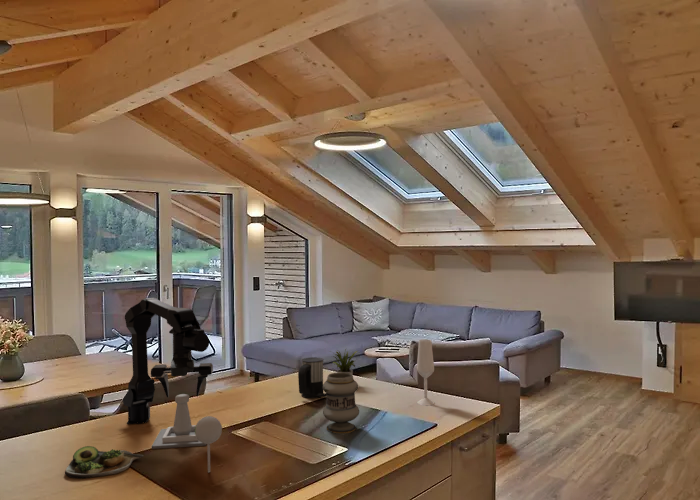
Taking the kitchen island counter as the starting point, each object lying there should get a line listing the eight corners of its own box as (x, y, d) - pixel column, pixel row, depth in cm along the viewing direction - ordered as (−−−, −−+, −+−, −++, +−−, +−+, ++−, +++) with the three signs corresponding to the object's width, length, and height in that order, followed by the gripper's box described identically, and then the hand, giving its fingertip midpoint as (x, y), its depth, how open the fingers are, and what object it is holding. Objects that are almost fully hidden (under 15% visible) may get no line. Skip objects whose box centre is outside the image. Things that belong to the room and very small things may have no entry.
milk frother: (304, 392, 233) (304, 356, 233) (341, 393, 231) (341, 357, 231) (296, 401, 219) (295, 363, 219) (335, 402, 217) (335, 364, 217)
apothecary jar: (315, 429, 186) (314, 375, 186) (340, 420, 195) (340, 368, 195) (341, 437, 178) (341, 380, 178) (366, 428, 187) (366, 374, 186)
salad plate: (147, 451, 168) (146, 436, 168) (138, 475, 151) (138, 458, 151) (77, 457, 164) (76, 442, 164) (60, 482, 147) (59, 465, 147)
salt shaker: (186, 439, 175) (185, 397, 175) (169, 438, 177) (168, 396, 176) (195, 433, 181) (194, 393, 181) (179, 432, 182) (178, 392, 182)
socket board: (151, 448, 170) (151, 441, 170) (161, 431, 185) (161, 424, 185) (205, 445, 172) (205, 437, 172) (210, 428, 188) (210, 421, 188)
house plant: (322, 388, 238) (322, 350, 238) (329, 380, 252) (328, 344, 252) (355, 389, 236) (355, 351, 236) (360, 381, 250) (360, 345, 249)
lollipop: (198, 467, 155) (197, 413, 155) (224, 466, 156) (223, 412, 155) (193, 478, 148) (192, 421, 148) (220, 476, 148) (219, 420, 148)
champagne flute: (437, 401, 216) (436, 339, 216) (430, 406, 211) (429, 342, 211) (421, 399, 220) (420, 338, 220) (414, 403, 214) (413, 341, 214)
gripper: (146, 354, 171) (147, 405, 171) (209, 352, 174) (209, 402, 174) (154, 347, 182) (154, 395, 182) (212, 345, 185) (213, 392, 185)
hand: (182, 396), depth 181 cm, fingers open, 9 cm apart
